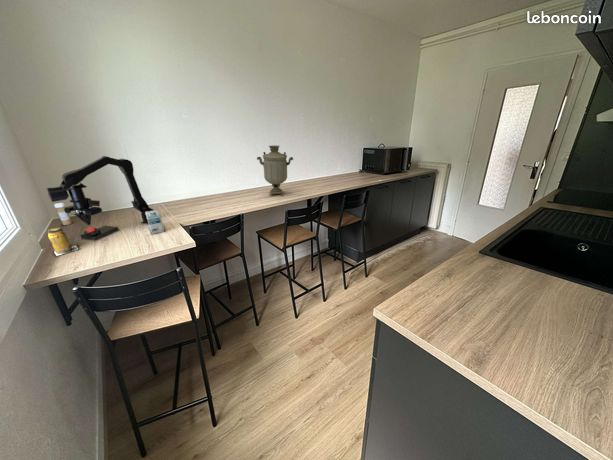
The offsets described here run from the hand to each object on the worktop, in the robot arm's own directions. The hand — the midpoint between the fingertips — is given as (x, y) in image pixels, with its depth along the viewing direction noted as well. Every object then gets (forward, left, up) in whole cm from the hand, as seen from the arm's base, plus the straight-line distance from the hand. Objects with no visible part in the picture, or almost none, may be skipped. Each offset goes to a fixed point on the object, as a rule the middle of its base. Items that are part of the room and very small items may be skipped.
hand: (89, 224), depth 137 cm
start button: (0, 0, -4) cm, 4 cm away
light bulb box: (-27, -16, -8) cm, 33 cm away
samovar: (-70, -108, -8) cm, 129 cm away
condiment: (-2, +16, -8) cm, 18 cm away
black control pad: (0, -4, -8) cm, 9 cm away
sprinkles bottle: (+36, -11, -8) cm, 38 cm away
